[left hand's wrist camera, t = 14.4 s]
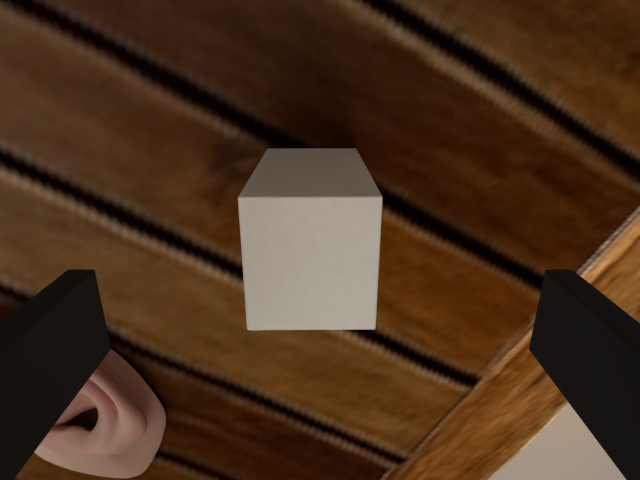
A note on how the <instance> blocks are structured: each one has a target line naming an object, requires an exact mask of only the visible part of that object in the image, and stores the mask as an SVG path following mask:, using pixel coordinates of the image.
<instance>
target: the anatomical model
mask: <svg viewBox="0 0 640 480" xmlns="http://www.w3.org/2000/svg"><path fill="white" fill-rule="evenodd" d="M165 426H166V414H165V411H164V408H163V406H162V404H161V403H160V401H159V399H158V398H157V397H156V395H155V394H154V392H153V391H152V390H151V388H150V387H149V386H148V385H147V384H146V382H145V381H144V380H143V379H142V377H141V376H140V375H139V374H138V373H137V372H136V371H135V370H134V368H133V367H131V366H130V365H129V364H128V363H127V362H126V361H125V360H124V359H123V358H122V357H121V356H120V355H118V354H117V353H116V352H115V351H113V350H112V349H111V350H110V351H109V353H108V354H107V355H106V357H105V358H104V359H103V361H102V362H101V363H100V365H99V366H98V367H97V369H96V370H95V371H94V373H93V374H92V375H91V377H90V378H89V379H88V381H87V382H86V383H85V385H84V386H83V387H82V389H81V390H80V391H79V393H78V394H77V395H76V397H75V398H74V399H73V401H72V402H71V403H70V405H69V406H68V407H67V409H66V410H65V411H64V413H63V414H62V415H61V417H60V418H59V419H58V421H57V422H56V423H55V425H54V426H53V427H52V429H51V430H50V431H49V433H48V434H47V435H46V437H45V438H44V439H43V441H42V442H41V444H40V445H39V446H38V448H37V449H36V450H35V453H36V454H37V455H39V456H40V457H42V458H43V459H45V460H47V461H49V462H51V463H53V464H55V465H58V466H61V467H64V468H67V469H70V470H73V471H77V472H82V473H86V474H91V475H97V476H103V477H112V478H131V477H135V476H138V475H140V474H142V473H143V472H144V471H145V470H146V469H147V468H148V466H149V465H150V463H151V462H152V460H153V458H154V456H155V454H156V452H157V450H158V448H159V446H160V444H161V441H162V438H163V434H164V430H165Z"/></svg>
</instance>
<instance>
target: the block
mask: <svg viewBox="0 0 640 480" xmlns="http://www.w3.org/2000/svg"><path fill="white" fill-rule="evenodd" d="M382 199H383V197H382V195H381V193H380V192H379V190H378V188H377V186H376V184H375V182H374V181H373V179H372V177H371V175H370V173H369V171H368V170H367V168H366V166H365V164H364V162H363V160H362V159H361V157H360V155H359V153H358V151H357V149H356V148H288V149H267V150H266V152H265V154H264V155H263V157H262V159H261V160H260V162H259V164H258V165H257V167H256V169H255V170H254V172H253V174H252V175H251V177H250V178H249V180H248V182H247V183H246V185H245V187H244V188H243V190H242V192H241V193H240V195H239V197H238V207H239V221H240V235H241V249H242V264H243V278H244V292H245V306H246V320H247V330H342V329H375V328H376V311H377V292H378V274H379V255H380V237H381V218H382Z"/></svg>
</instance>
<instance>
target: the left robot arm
mask: <svg viewBox="0 0 640 480" xmlns="http://www.w3.org/2000/svg"><path fill="white" fill-rule="evenodd" d="M110 350H111V347H110V342H109V337H108V332H107V328H106V323H105V318H104V313H103V308H102V304H101V299H100V294H99V289H98V284H97V280H96V275H95V270H67V271H66V272H64V273H63V274H62V275H61V276H59V277H58V278H57V279H56V280H54V281H53V282H52V283H51V284H49V285H48V286H47V287H46V288H44V289H43V290H42V291H41V292H39V293H38V294H37V295H35V296H34V297H33V298H32V299H30V300H29V301H28V302H27V303H25V304H24V305H23V306H22V307H20V308H19V309H18V310H17V311H15V312H14V313H13V314H12V315H10V316H9V317H8V318H6V319H5V320H4V321H3V322H1V323H0V480H14V478H15V477H16V476H17V474H18V473H19V472H20V470H21V469H22V468H23V466H24V465H25V464H26V462H27V461H28V460H29V458H30V457H31V456H32V454H33V453H34V452H35V450H36V449H37V448H38V446H39V445H40V444H41V442H42V441H43V439H44V438H45V437H46V435H47V434H48V433H49V431H50V430H51V429H52V427H53V426H54V425H55V423H56V422H57V421H58V419H59V418H60V417H61V415H62V414H63V413H64V411H65V410H66V409H67V407H68V406H69V405H70V403H71V402H72V401H73V399H74V398H75V397H76V395H77V394H78V393H79V391H80V390H81V389H82V387H83V386H84V385H85V383H86V382H87V381H88V379H89V378H90V377H91V375H92V374H93V373H94V371H95V370H96V369H97V367H98V366H99V365H100V363H101V362H102V361H103V359H104V358H105V357H106V355H107V354H108V353H109V351H110ZM529 350H530V351H531V353H532V354H533V355H534V357H535V358H536V359H537V361H538V362H539V363H540V365H541V366H542V367H543V369H544V370H545V371H546V373H547V374H548V375H549V377H550V378H551V379H552V381H553V382H554V383H555V385H556V386H557V387H558V389H559V390H560V391H561V393H562V394H563V395H564V397H565V398H566V399H567V401H568V402H569V403H570V405H571V406H572V407H573V409H574V410H575V411H576V413H577V414H578V415H579V417H580V418H581V419H582V421H583V422H584V423H585V425H586V426H587V427H588V429H589V430H590V431H591V433H592V434H593V435H594V437H595V438H596V439H597V441H598V442H599V444H600V445H601V446H602V448H603V449H604V450H605V452H606V453H607V454H608V456H609V457H610V458H611V460H612V461H613V462H614V464H615V465H616V466H617V468H618V469H619V470H620V472H621V473H622V474H623V476H624V477H625V478H626V480H640V323H639V322H637V321H636V320H635V319H634V318H632V317H631V316H630V315H628V314H627V313H626V312H625V311H623V310H622V309H621V308H620V307H618V306H617V305H616V304H615V303H613V302H612V301H611V300H610V299H608V298H607V297H606V296H605V295H603V294H602V293H601V292H599V291H598V290H597V289H596V288H594V287H593V286H592V285H591V284H589V283H588V282H587V281H586V280H584V279H583V278H582V277H581V276H579V275H578V274H577V273H576V272H574V271H573V270H545V275H544V280H543V284H542V289H541V294H540V299H539V304H538V308H537V313H536V318H535V323H534V328H533V332H532V337H531V342H530V347H529Z"/></svg>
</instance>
